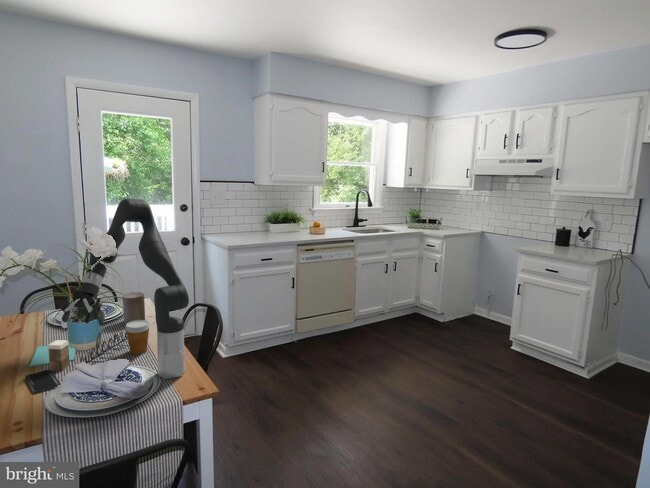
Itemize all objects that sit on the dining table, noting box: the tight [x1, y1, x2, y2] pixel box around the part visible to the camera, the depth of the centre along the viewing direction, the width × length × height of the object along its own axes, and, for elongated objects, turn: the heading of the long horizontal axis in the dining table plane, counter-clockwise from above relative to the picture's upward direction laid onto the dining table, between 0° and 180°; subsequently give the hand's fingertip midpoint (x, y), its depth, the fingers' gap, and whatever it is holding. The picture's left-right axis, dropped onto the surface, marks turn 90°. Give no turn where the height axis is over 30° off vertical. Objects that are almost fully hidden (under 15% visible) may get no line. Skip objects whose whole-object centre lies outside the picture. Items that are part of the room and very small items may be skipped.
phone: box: [24, 369, 61, 395], centre depth 143 cm, size 8×1×15 cm
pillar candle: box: [122, 291, 146, 325], centre depth 202 cm, size 10×10×15 cm
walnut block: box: [47, 339, 71, 372], centre depth 153 cm, size 4×4×10 cm
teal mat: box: [29, 342, 77, 368], centre depth 165 cm, size 18×14×1 cm
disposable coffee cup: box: [124, 319, 151, 356], centre depth 169 cm, size 10×10×12 cm
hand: (75, 322), depth 162 cm, fingers open, 8 cm apart
